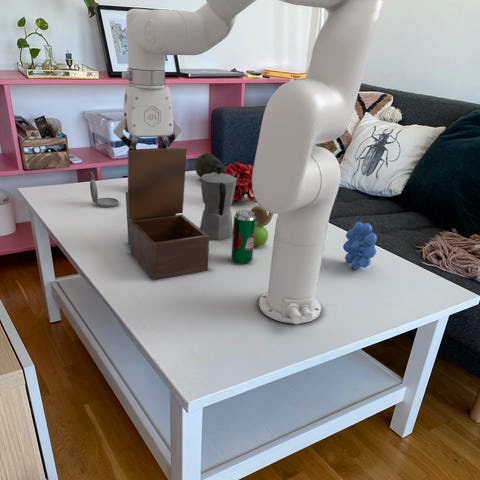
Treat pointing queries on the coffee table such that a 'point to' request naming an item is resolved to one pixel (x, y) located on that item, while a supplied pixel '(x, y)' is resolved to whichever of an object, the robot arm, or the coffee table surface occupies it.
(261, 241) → the snail figurine
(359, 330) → the coffee table surface
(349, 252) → the grapes
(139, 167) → the lid
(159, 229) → the chest
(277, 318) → the robot arm
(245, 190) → the carnation
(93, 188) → the pocket watch
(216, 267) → the coffee table surface
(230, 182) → the coffeepot
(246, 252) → the soda can
